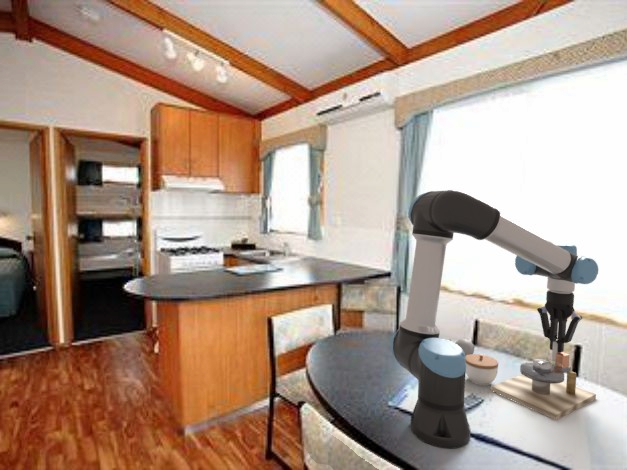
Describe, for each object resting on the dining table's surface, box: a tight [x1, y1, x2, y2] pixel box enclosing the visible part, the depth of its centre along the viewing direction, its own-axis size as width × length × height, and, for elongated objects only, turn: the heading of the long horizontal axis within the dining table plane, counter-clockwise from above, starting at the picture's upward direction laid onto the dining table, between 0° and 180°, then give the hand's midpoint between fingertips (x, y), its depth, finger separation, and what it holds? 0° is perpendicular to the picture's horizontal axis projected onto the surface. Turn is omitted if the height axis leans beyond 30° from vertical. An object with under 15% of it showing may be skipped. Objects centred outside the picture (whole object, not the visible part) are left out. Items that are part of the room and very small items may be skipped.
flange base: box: [490, 370, 597, 421], centre depth 120 cm, size 24×20×8 cm
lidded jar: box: [465, 353, 499, 387], centre depth 129 cm, size 11×11×9 cm
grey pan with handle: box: [519, 351, 572, 383], centre depth 120 cm, size 18×12×6 cm
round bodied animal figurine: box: [448, 338, 475, 356], centre depth 149 cm, size 7×12×8 cm, turn 66°
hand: (555, 360), depth 124 cm, fingers closed
